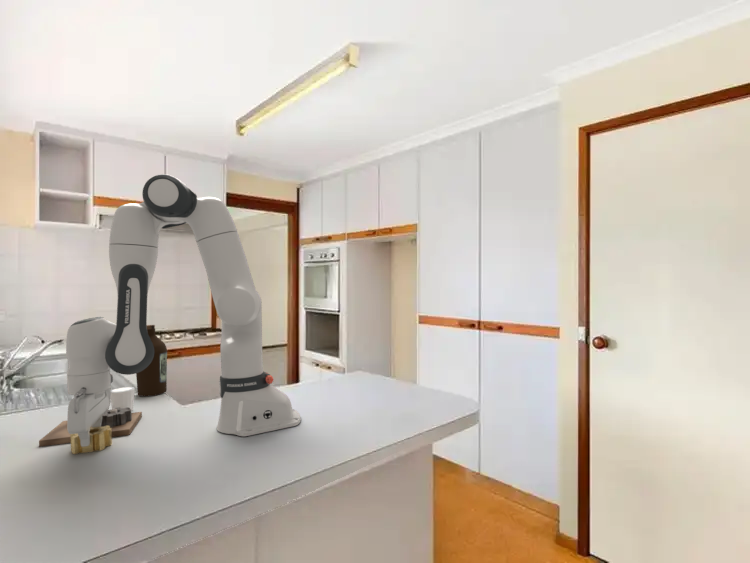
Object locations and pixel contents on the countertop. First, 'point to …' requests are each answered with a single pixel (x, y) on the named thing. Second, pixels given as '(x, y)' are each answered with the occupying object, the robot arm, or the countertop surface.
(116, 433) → the gear board
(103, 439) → the brass gear
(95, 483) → the countertop surface
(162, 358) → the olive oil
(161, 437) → the countertop surface
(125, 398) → the white short cylinder
